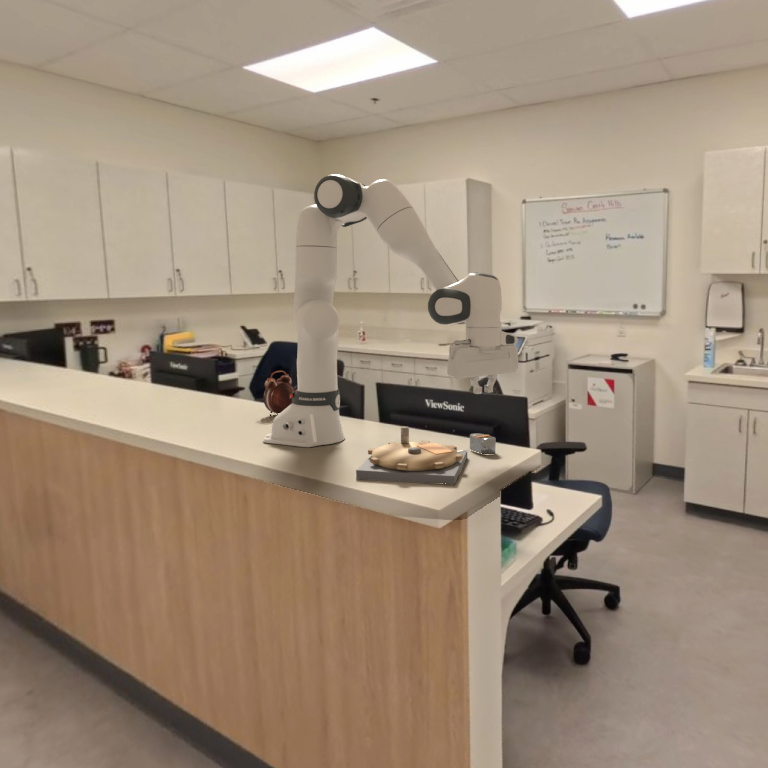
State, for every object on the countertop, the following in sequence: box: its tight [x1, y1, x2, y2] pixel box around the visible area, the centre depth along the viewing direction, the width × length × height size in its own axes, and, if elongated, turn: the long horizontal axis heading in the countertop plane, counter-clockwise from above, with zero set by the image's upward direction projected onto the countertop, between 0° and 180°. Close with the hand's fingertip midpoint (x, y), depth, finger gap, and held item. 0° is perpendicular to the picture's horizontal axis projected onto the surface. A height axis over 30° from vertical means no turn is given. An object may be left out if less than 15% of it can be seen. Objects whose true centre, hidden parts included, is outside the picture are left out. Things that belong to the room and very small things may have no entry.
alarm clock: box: [263, 370, 295, 415], centre depth 213 cm, size 11×5×15 cm, turn 141°
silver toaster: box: [469, 433, 497, 455], centre depth 164 cm, size 8×4×4 cm, turn 30°
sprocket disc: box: [367, 426, 463, 471], centre depth 149 cm, size 22×22×6 cm
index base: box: [355, 449, 468, 485], centre depth 150 cm, size 22×22×2 cm
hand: (483, 392), depth 162 cm, fingers open, 2 cm apart
